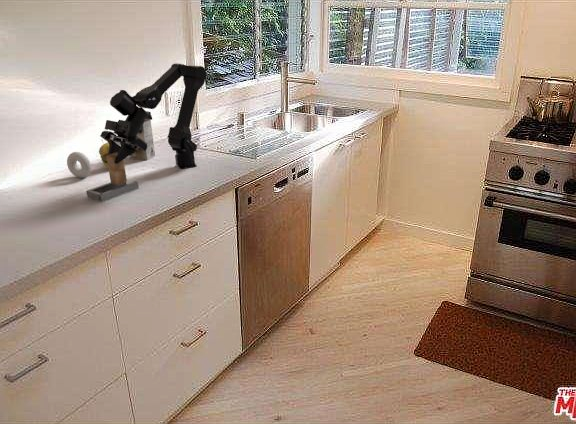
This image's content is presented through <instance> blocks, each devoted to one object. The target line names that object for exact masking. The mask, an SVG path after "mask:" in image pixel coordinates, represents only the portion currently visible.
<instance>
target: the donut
mask: <svg viewBox="0 0 576 424" xmlns="http://www.w3.org/2000/svg"><path fill="white" fill-rule="evenodd" d="M77 162H78V163H80V164H79V165H80V167H81V168H80V167H79V166H78V163H77ZM66 165H67V168H68V170H69V172H70V173H71V174H72V175H73V176H75V177H77V178H80V179H82V178H86V177H88V176H89V175H90V173H91V170H92V164H91V161H90V160H89V158H88V156H86V155H85V154H84V153H83V152H80V151H73V152H71V153H70V154H69V155H68V156H67V159H66Z"/></svg>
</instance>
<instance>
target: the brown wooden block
mask: <svg viewBox="0 0 576 424" xmlns="http://www.w3.org/2000/svg"><path fill="white" fill-rule="evenodd" d="M117 154H118V153H117V152H115V153H112V154H109V155H106V158H107V164H108V167H107V168H108V173H109V174H108V175H109V179H110V182H111V183H112V184H116V185H119V184H122V183H124V182H126V183H127V182H128V180H127V173H126V168H125V162H124V160H122V161H121V162H119V163H118V164H116V163H114V162H115V159H116V157H117Z"/></svg>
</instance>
